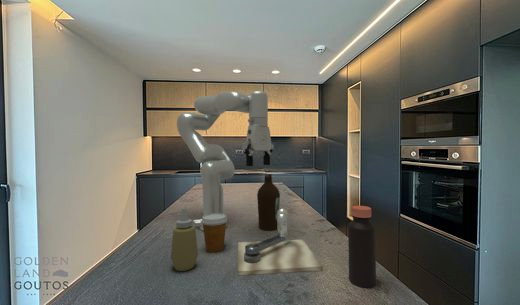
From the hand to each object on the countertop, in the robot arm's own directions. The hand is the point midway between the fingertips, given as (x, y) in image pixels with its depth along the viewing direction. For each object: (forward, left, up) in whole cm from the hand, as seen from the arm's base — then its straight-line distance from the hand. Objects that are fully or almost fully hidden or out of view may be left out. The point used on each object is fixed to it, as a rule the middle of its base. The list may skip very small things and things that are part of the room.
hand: (258, 165), depth 96 cm
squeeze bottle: (-25, -20, -30) cm, 44 cm away
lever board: (+4, -16, -30) cm, 34 cm away
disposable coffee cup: (-17, -7, -30) cm, 35 cm away
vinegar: (+25, -34, -30) cm, 52 cm away
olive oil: (+6, +15, -30) cm, 34 cm away
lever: (+2, -15, -27) cm, 31 cm away
